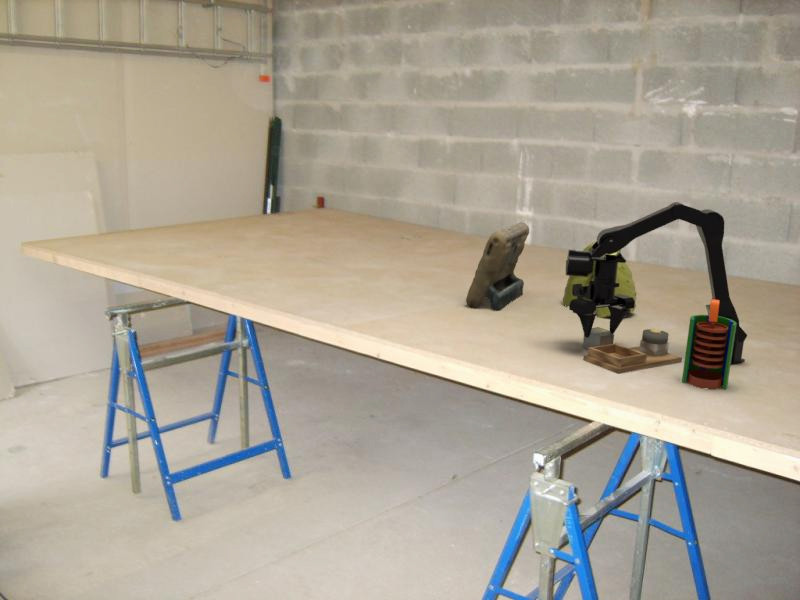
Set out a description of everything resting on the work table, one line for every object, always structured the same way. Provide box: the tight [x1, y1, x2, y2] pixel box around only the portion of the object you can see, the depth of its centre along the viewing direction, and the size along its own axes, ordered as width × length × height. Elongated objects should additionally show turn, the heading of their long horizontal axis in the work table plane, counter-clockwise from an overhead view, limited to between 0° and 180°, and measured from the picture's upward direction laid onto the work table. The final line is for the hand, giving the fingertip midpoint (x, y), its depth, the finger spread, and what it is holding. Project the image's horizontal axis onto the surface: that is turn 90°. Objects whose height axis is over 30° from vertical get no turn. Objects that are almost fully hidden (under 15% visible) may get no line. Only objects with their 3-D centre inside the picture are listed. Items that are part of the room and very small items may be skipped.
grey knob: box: [641, 328, 670, 344], centre depth 213 cm, size 6×6×6 cm
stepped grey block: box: [582, 326, 615, 351], centre depth 217 cm, size 6×5×6 cm
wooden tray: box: [582, 339, 683, 375], centre depth 209 cm, size 12×23×4 cm, turn 122°
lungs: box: [562, 241, 637, 319], centre depth 261 cm, size 25×16×24 cm, turn 31°
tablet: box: [465, 221, 530, 312], centre depth 268 cm, size 33×14×25 cm, turn 161°
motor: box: [681, 298, 737, 390], centre depth 192 cm, size 10×9×20 cm
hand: (599, 335), depth 217 cm, fingers open, 9 cm apart
